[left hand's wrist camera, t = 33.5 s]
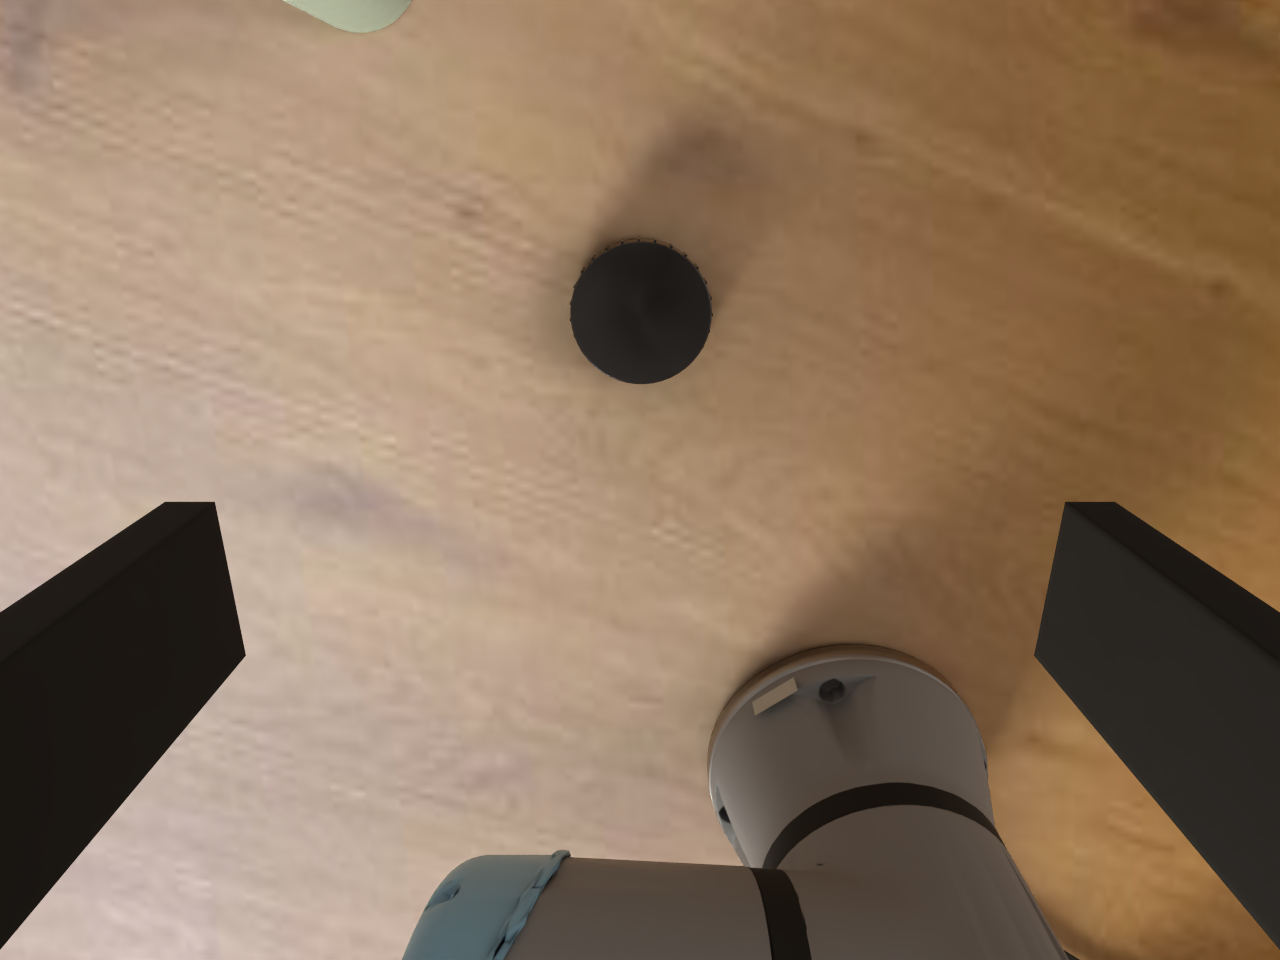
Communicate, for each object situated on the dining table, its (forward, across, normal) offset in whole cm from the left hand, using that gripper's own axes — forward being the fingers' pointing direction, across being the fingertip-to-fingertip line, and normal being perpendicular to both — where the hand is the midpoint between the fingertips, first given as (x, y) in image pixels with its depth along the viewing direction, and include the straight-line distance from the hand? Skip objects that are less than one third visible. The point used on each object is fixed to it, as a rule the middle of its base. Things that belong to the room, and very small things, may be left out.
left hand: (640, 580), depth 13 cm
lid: (+24, 0, 0) cm, 24 cm away
